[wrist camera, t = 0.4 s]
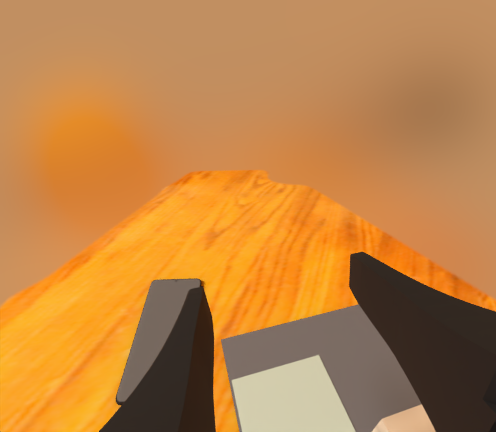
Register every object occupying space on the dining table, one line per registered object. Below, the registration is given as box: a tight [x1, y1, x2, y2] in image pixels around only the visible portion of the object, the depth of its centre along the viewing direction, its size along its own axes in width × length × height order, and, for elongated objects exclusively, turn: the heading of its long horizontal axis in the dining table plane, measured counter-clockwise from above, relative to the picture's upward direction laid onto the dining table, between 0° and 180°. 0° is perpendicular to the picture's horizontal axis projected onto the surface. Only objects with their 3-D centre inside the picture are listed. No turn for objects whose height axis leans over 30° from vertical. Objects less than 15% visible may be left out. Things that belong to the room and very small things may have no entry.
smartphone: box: [116, 279, 201, 405], centre depth 32 cm, size 7×1×15 cm
